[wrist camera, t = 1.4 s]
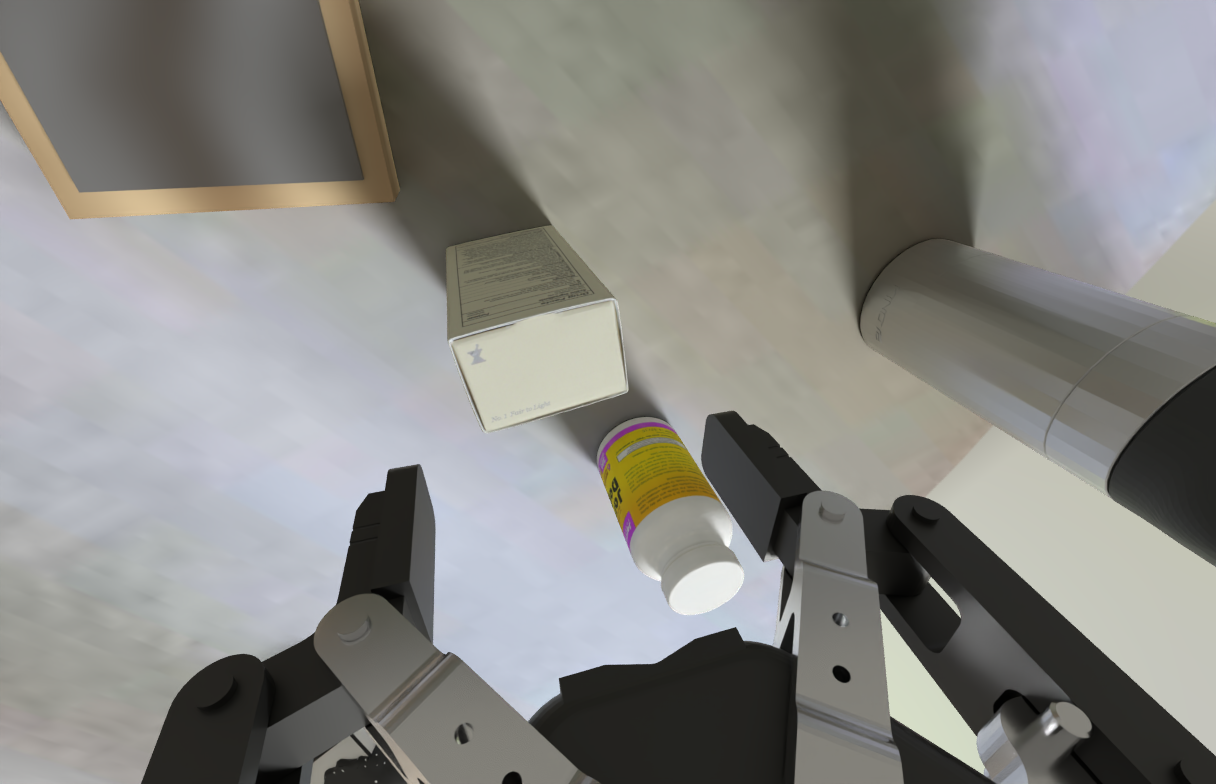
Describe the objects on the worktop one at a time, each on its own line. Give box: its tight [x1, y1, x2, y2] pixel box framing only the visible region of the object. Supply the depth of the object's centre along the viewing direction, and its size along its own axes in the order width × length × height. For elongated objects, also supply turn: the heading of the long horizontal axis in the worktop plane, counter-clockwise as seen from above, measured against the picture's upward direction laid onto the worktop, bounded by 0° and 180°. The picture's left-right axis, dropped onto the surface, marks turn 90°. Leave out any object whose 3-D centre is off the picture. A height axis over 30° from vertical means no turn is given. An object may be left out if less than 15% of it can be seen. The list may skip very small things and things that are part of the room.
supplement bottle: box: [597, 417, 744, 615], centre depth 32 cm, size 7×7×13 cm
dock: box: [0, 0, 400, 219], centre depth 18 cm, size 12×11×3 cm
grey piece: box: [310, 728, 408, 784], centre depth 45 cm, size 25×10×10 cm, turn 14°
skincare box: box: [446, 225, 628, 433], centre depth 23 cm, size 6×4×12 cm
